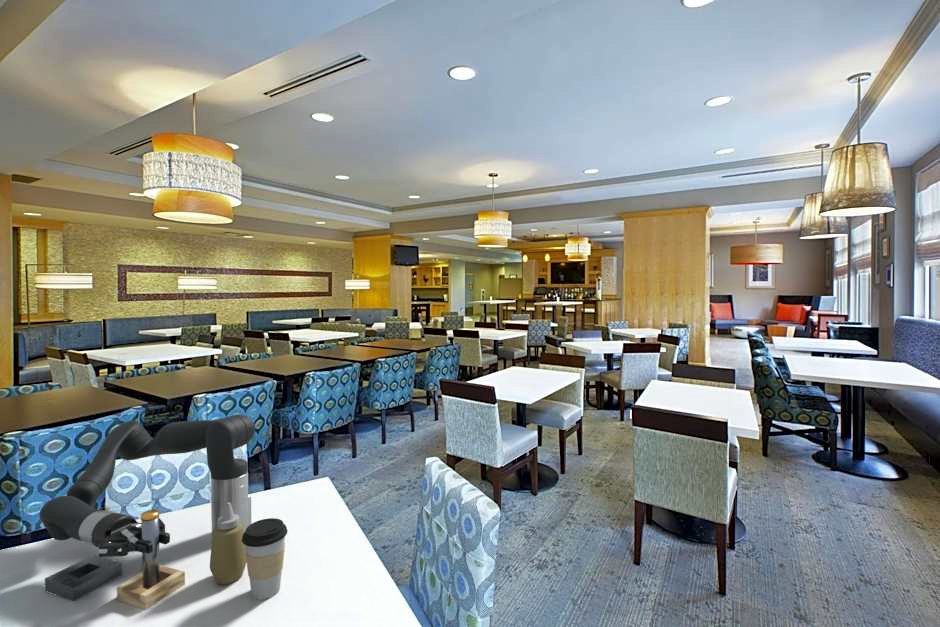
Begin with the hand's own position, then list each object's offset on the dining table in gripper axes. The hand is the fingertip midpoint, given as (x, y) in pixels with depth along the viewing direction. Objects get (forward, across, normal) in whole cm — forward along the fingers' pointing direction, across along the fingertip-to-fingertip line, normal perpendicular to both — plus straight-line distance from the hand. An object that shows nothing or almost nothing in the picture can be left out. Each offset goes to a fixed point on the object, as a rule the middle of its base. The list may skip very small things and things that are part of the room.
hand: (159, 543), depth 100 cm
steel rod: (-3, 0, -10) cm, 10 cm away
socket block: (-21, +3, -12) cm, 24 cm away
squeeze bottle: (+9, -10, -12) cm, 18 cm away
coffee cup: (+21, -9, -12) cm, 26 cm away
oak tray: (-3, 0, -12) cm, 12 cm away
